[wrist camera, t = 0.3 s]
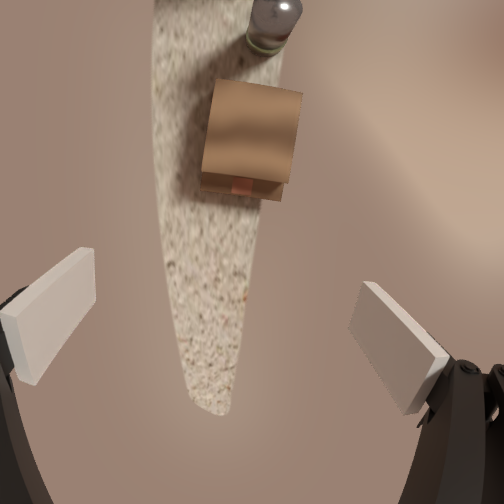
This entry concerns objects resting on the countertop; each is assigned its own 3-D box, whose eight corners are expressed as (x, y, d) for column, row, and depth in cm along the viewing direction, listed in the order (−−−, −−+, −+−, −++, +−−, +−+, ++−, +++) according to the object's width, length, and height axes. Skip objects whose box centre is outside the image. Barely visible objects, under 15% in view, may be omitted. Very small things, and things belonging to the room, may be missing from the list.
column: (248, 22, 32) (256, -17, 22) (286, 29, 33) (305, -7, 22) (242, 54, 33) (248, 20, 23) (281, 60, 34) (300, 30, 24)
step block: (217, 87, 35) (216, 78, 30) (293, 100, 36) (302, 93, 31) (201, 188, 39) (198, 192, 34) (277, 198, 40) (284, 204, 35)
